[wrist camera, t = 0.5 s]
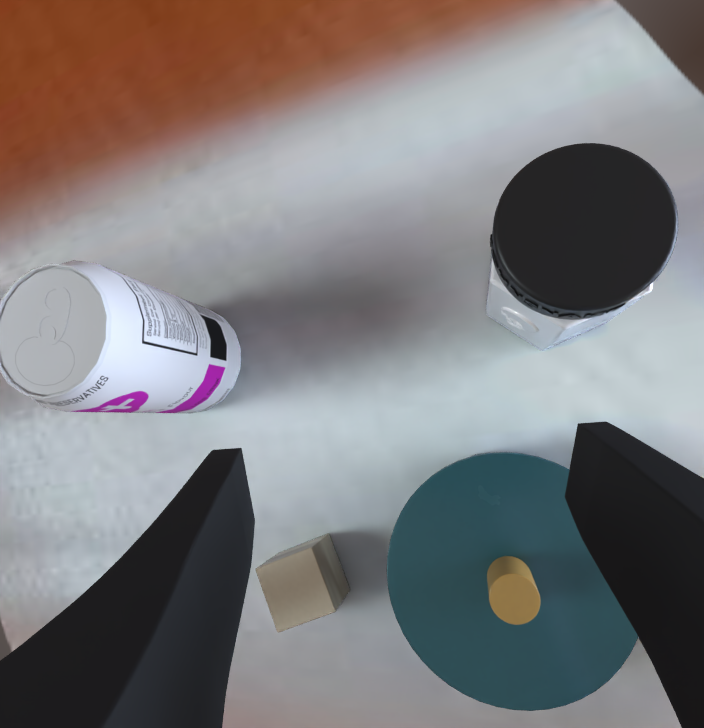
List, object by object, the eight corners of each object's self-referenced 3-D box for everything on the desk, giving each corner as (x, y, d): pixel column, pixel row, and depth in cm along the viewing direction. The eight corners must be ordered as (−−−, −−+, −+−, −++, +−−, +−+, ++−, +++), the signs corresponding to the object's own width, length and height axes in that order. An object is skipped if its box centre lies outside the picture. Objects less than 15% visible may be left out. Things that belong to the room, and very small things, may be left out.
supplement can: (235, 420, 40) (100, 423, 25) (142, 403, 42) (-33, 395, 27) (254, 317, 41) (132, 261, 26) (161, 304, 42) (-1, 245, 28)
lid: (687, 655, 27) (728, 701, 23) (445, 731, 30) (441, 785, 25) (570, 415, 30) (587, 414, 25) (355, 501, 32) (336, 514, 28)
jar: (457, 300, 37) (451, 246, 26) (526, 205, 37) (551, 107, 25) (568, 373, 35) (616, 351, 23) (642, 273, 35) (728, 201, 23)
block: (350, 590, 37) (335, 611, 33) (298, 609, 38) (277, 633, 33) (328, 532, 38) (311, 546, 34) (277, 552, 38) (254, 569, 34)
